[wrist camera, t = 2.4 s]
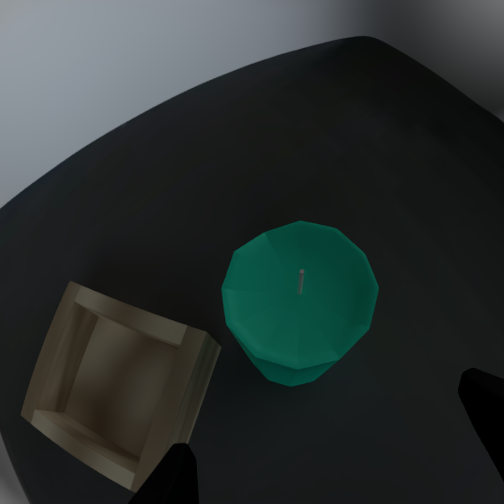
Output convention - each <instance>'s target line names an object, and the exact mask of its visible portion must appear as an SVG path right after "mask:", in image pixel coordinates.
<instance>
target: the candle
mask: <svg viewBox="0 0 504 504" xmlns="http://www.w3.org/2000/svg"><path fill="white" fill-rule="evenodd" d="M221 290H222V297H223V304H224V312H225V319H226V325H227V326H228V328H229V329H230V331H231V332H232V334H233V335H234V337H235V338H236V340H237V341H238V343H239V344H240V345H241V347H242V348H243V350H244V351H245V353H246V354H247V356H248V357H249V358H250V360H251V361H252V363H253V364H254V365H255V366H256V367H257V368H258V369H259V371H260V372H261V373H262V374H263V375H264V376H265V377H266V378H267V379H268V380H270V381H273V382H276V383H280V384H283V385H286V386H290V387H292V386H296V385H300V384H304V383H309V382H313V381H314V380H316V379H317V378H318V377H319V376H321V375H322V374H323V373H324V372H325V371H326V370H328V369H329V368H330V367H331V366H332V365H334V364H335V363H336V362H337V361H338V360H339V359H340V358H341V357H342V356H343V355H344V354H345V353H346V352H347V351H348V350H349V349H350V348H351V347H352V346H353V345H354V344H355V343H356V342H357V341H358V340H359V339H360V338H361V337H362V336H363V335H364V334H365V333H366V332H367V331H368V329H369V328H370V324H371V320H372V316H373V312H374V308H375V303H376V299H377V295H378V290H379V286H378V284H377V281H376V279H375V276H374V274H373V272H372V269H371V267H370V264H369V262H368V260H367V257H366V255H365V253H364V252H362V251H361V250H360V249H359V248H358V247H357V246H356V245H355V244H354V243H353V242H351V241H350V240H349V239H348V238H347V237H346V236H345V235H344V234H343V233H341V232H340V231H339V230H338V229H337V228H332V227H328V226H323V225H319V224H314V223H310V222H305V221H297V222H294V223H291V224H288V225H285V226H282V227H279V228H276V229H273V230H270V231H267V232H264V233H262V234H261V235H259V236H258V237H256V238H255V239H253V240H251V241H250V242H248V243H247V244H245V245H244V246H242V247H240V248H239V249H237V250H236V251H234V254H233V257H232V260H231V263H230V265H229V268H228V271H227V274H226V277H225V280H224V283H223V286H222V288H221Z"/></svg>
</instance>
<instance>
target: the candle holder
mask: <svg viewBox="0 0 504 504" xmlns="http://www.w3.org/2000/svg"><path fill="white" fill-rule="evenodd" d="M220 350H221V346H220V345H219V344H218V343H217V342H216V341H215V340H214V339H213V338H212V337H211V336H210V335H209V334H208V333H207V332H205V331H202V330H199V329H196V328H193V327H190V326H187V325H184V324H181V323H178V322H175V321H172V320H170V319H167V318H164V317H161V316H158V315H155V314H153V313H150V312H147V311H144V310H142V309H139V308H136V307H134V306H131V305H128V304H126V303H123V302H121V301H118V300H116V299H113V298H110V297H108V296H105V295H103V294H101V293H98V292H96V291H93V290H91V289H88V288H86V287H84V286H81V285H79V284H77V283H74V282H72V281H70V282H69V284H68V286H67V288H66V291H65V293H64V295H63V297H62V300H61V302H60V304H59V306H58V309H57V311H56V313H55V316H54V318H53V321H52V323H51V326H50V328H49V331H48V333H47V336H46V338H45V341H44V344H43V346H42V349H41V352H40V355H39V357H38V360H37V363H36V366H35V369H34V372H33V375H32V378H31V381H30V384H29V388H28V391H27V394H26V398H25V401H24V405H23V408H22V412H21V416H23V417H24V418H25V419H26V420H27V421H28V422H30V423H31V424H32V425H33V426H34V427H36V428H37V429H38V430H39V431H41V432H42V433H43V434H44V435H46V436H47V437H48V438H50V439H51V440H52V441H54V442H55V443H56V444H58V445H59V446H60V447H62V448H63V449H64V450H66V451H67V452H69V453H70V454H72V455H73V456H75V457H76V458H77V459H79V460H80V461H82V462H83V463H85V464H87V465H88V466H90V467H91V468H93V469H94V470H96V471H98V472H99V473H101V474H103V475H104V476H106V477H108V478H109V479H111V480H113V481H115V482H116V483H118V484H120V485H122V486H124V487H125V488H127V489H129V490H131V491H133V492H135V493H136V492H137V491H138V490H139V488H140V487H141V486H142V484H143V483H144V482H145V480H146V479H147V478H148V477H149V475H150V474H151V473H152V471H153V470H154V469H155V467H156V466H157V465H158V463H159V462H160V461H161V459H162V458H163V457H164V455H165V454H166V453H167V451H168V450H169V449H170V447H171V446H172V445H173V444H174V443H187V444H188V442H189V439H190V436H191V433H192V430H193V427H194V424H195V422H196V419H197V416H198V413H199V410H200V407H201V404H202V402H203V399H204V396H205V393H206V390H207V387H208V384H209V381H210V379H211V376H212V373H213V370H214V367H215V364H216V361H217V358H218V356H219V353H220Z"/></svg>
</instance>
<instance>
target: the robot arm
mask: <svg viewBox="0 0 504 504" xmlns="http://www.w3.org/2000/svg"><path fill="white" fill-rule="evenodd" d="M458 394H459V397H460V399H461V401H462V403H463V405H464V407H465V410H466V412H467V414H468V416H469V418H470V421H471V423H472V425H473V427H474V429H475V431H476V432H477V434H478V436H479V438H480V439H481V441H482V443H483V445H484V446H485V448H486V450H487V452H488V453H489V455H490V457H491V459H492V461H493V462H494V464H495V466H496V468H497V470H498V472H499V473H500V475H501V477H502V479H503V481H504V379H502V378H500V377H497V376H494V375H491V374H489V373H486V372H483V371H481V370H478V369H476V368H470V369H468V370H466V371H464V372H463V373H462V376H461V380H460V384H459V387H458ZM128 504H199V496H198V480H197V463H196V458H195V456H194V454H193V452H192V451H191V449H190V447H189V445H188V444H187V443H174V444H173V445H172V446H171V447H170V449H169V450H168V451H167V453H166V454H165V455H164V457H163V458H162V459H161V461H160V462H159V463H158V465H157V466H156V467H155V469H154V470H153V471H152V473H151V474H150V475H149V477H148V478H147V479H146V480H145V482H144V483H143V484H142V486H141V487H140V488H139V490H138V491H137V492H136V493H135V495H134V496H133V497H132V498H131V500H130V501H129V502H128Z"/></svg>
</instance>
